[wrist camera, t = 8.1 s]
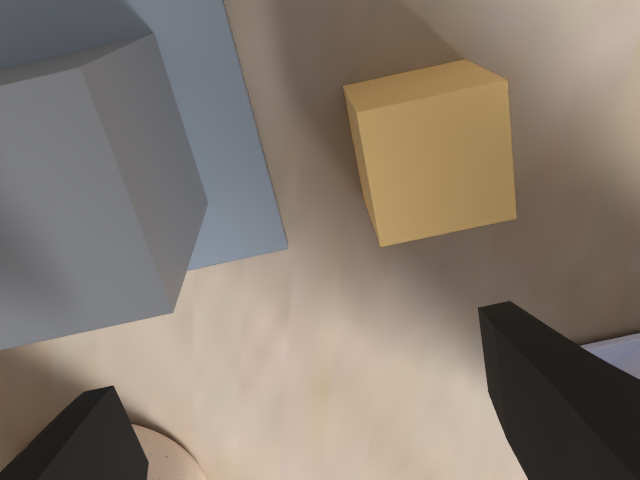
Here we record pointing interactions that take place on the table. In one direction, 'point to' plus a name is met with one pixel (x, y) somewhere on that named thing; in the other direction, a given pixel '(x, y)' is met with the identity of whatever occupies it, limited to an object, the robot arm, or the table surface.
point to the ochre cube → (433, 150)
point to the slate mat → (191, 97)
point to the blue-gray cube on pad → (93, 192)
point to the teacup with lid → (166, 457)
